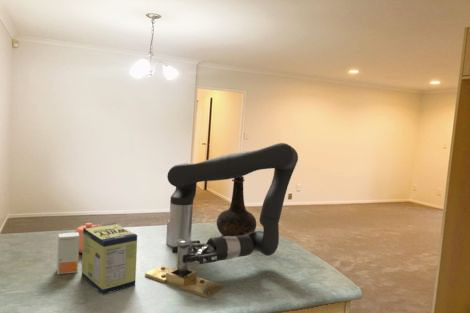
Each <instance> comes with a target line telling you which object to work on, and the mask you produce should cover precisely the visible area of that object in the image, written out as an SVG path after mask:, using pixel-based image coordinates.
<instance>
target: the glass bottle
mask: <svg viewBox="0 0 470 313" xmlns="http://www.w3.org/2000/svg"><path fill="white" fill-rule="evenodd" d="M231 181H232V182H233V188H232V194H231V201H230V206H229V208H228V209H226V210H224V211H222V212H221V213H220V214H219V215H218V216H217V219H216V228H217V230H218V231H219V233H220V234H221V236H222V237H224V236H240V235H246V234H248V233H251V232H254V231H256V229H257V220H256V217H255V216H254V214H253V213H251V212H249V211H248V210H247V208H246V205H245V198H244V182H245V177H244V176H241V177H238V178H232V179H231Z"/></svg>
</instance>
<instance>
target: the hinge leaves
mask: <svg viewBox="0 0 470 313" xmlns="http://www.w3.org/2000/svg"><path fill="white" fill-rule="evenodd" d="M176 273H177V267H176V268H174V269H173V268H171V267H167V266H164V265H160V266H158V267H156V268H154V269H151V270H150V271H147V272H145V273H144V276H145V277H146V278H149V279H151V280H155V281H158V282H160V283H162V284H165V283H166V284H169V285H172V286H175V287H178V288H180V289H181V290H183V291H185V292H188V293H191V294H195V295H197V296H200V297H203V298H206V299H208V298H209V297H211V296H212V295H214V294H215V293H217V292H218V291H220V290H221V289H222V288H223V284H220V283H218V282H214V281H212V280H208V279H204V278H202V277H198V272H197V270H193V269H190V268H188V273H187V275H186V276H184V277H181V276H178V275H176Z"/></svg>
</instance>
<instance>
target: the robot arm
mask: <svg viewBox="0 0 470 313" xmlns="http://www.w3.org/2000/svg"><path fill="white" fill-rule="evenodd" d="M298 161H299V155H298V152H297V150H296V149H295V148H294V147H293V146H291V145H290V144H288V143H285V142H279V143H275V144H272V145H269V146H265V147H263V148H259V149H256V150H255V149H254V150H250V151H249V150H248V151H242V152H234V153H229V154H224V155H220V156H219V155H218V156H216V157H212V158H209V159H206V160H204V161H199V162H196V163H187V162H186V163H179V164H175V165H173V166H172V167H170V169H168V172H167V174H166V177H167V181H168V183H169V184H170V185H171V186H173V187H175V190H174V192H173V193H172V195H171V196H170V202H169V203H170V204H169V205H170V206H169V218H168V220H167V221H166V222H167V223H166V238H165V240H166V241H165V242H166V243H165V244H167V245H168V246H170V247H171V253H172V254H178V245H177V244H176V243H177V240H178V239H189V240H191V245H190V246H189V254H188V255H183V256H182V262H183V263H188V264H189V263H193V262H195V263H198V264H199V265H205V264H211V263H216V262H219V261H220V262H221V261H227V260H231V259H235V258H240V257H246V256H250V255H252V253H253V252H254V251H257V252H259V253H261V254H262V255H265V256H268V257H269V256H272V255H274V254H275V252H276V251H277V249H278V247H279V242H280V241H279V240H280V237H279V236H280V228H279V223H280V220H281V219H280V218H281V215H282V211H283V206H284V201H285V198H286V194H287V190H288V187H289V184H290V181H291V178H292V176H293V172H294V171H295V169H296V166H297V165H298V164H297V163H298ZM269 169H273V170H274V171H273V172H274V173H273V177H272V180H271V184H270V186H269V189H268V190H267V192H266V195H265V197H264V200H263V202H262V206H261V211H260V216H259V220H258V221H259V223H260V225H261V226H262V227H263V230H255V231H254V232H251V233H248V234H246V235H240V236H218V237H216V236H215V237H210V238H209V239H207V242H206V243H204V242H201V240H199V239H198V240H192V232H193V231H192V227H193V213H194V212H193V211H194V210H193V209H194V200H195V197H196V194H197V186H198V185H197V184H198V183H201V182H213V181H222V180H223V181H225V180H230V179H231V180H233V179H234V178H238V177H241V176H243V177H244V176H246V175H248V174H251V173H254V172H256V171H260V170H269Z"/></svg>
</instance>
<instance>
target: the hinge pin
mask: <svg viewBox="0 0 470 313" xmlns="http://www.w3.org/2000/svg"><path fill="white" fill-rule="evenodd" d="M191 241H192V239H191V240H189V239H178V240H177V243H176V244H177V245H178V253H177V256H176V258H177V260H176V268H177V273H176V275H178V276H181V277H184V276H186V275H187V273H188V269H189V262H188V263H183V262H182V256H183V255H188V254H190V253H189V250H190V249H189V246H190V245H191Z"/></svg>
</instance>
